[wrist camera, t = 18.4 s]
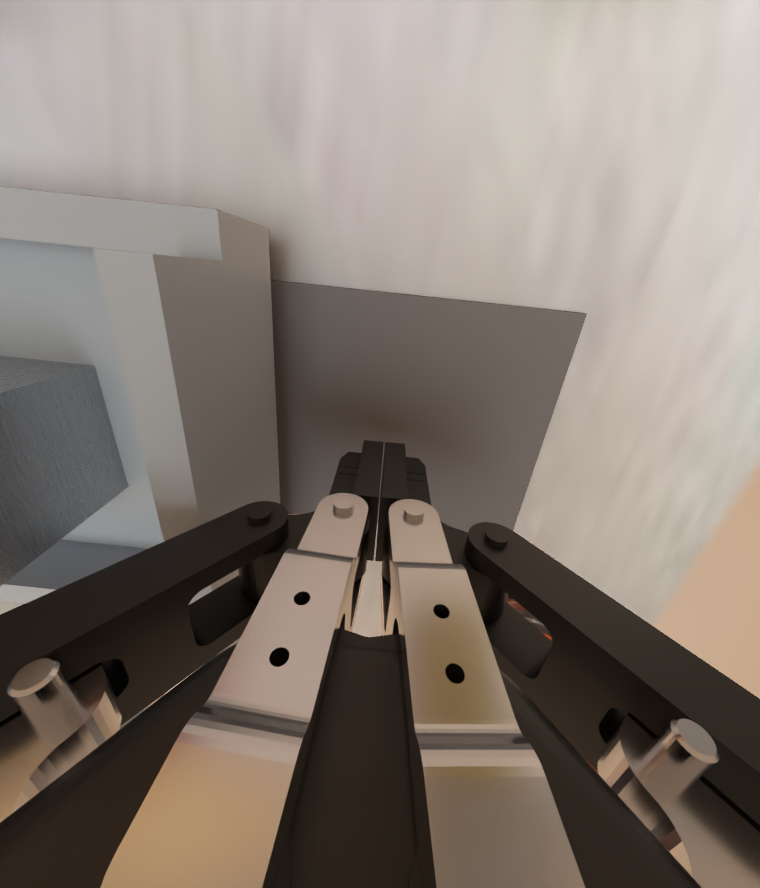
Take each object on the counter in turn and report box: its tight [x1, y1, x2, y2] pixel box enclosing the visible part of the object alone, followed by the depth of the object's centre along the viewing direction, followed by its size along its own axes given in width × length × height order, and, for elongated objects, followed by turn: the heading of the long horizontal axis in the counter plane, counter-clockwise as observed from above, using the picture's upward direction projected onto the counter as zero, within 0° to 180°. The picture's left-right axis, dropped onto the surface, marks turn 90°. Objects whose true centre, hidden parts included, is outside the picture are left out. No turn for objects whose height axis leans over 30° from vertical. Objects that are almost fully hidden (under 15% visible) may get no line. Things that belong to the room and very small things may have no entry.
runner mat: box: [271, 280, 586, 532], centre depth 15 cm, size 11×26×1 cm, turn 85°
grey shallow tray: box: [0, 187, 280, 670], centre depth 12 cm, size 14×14×8 cm
